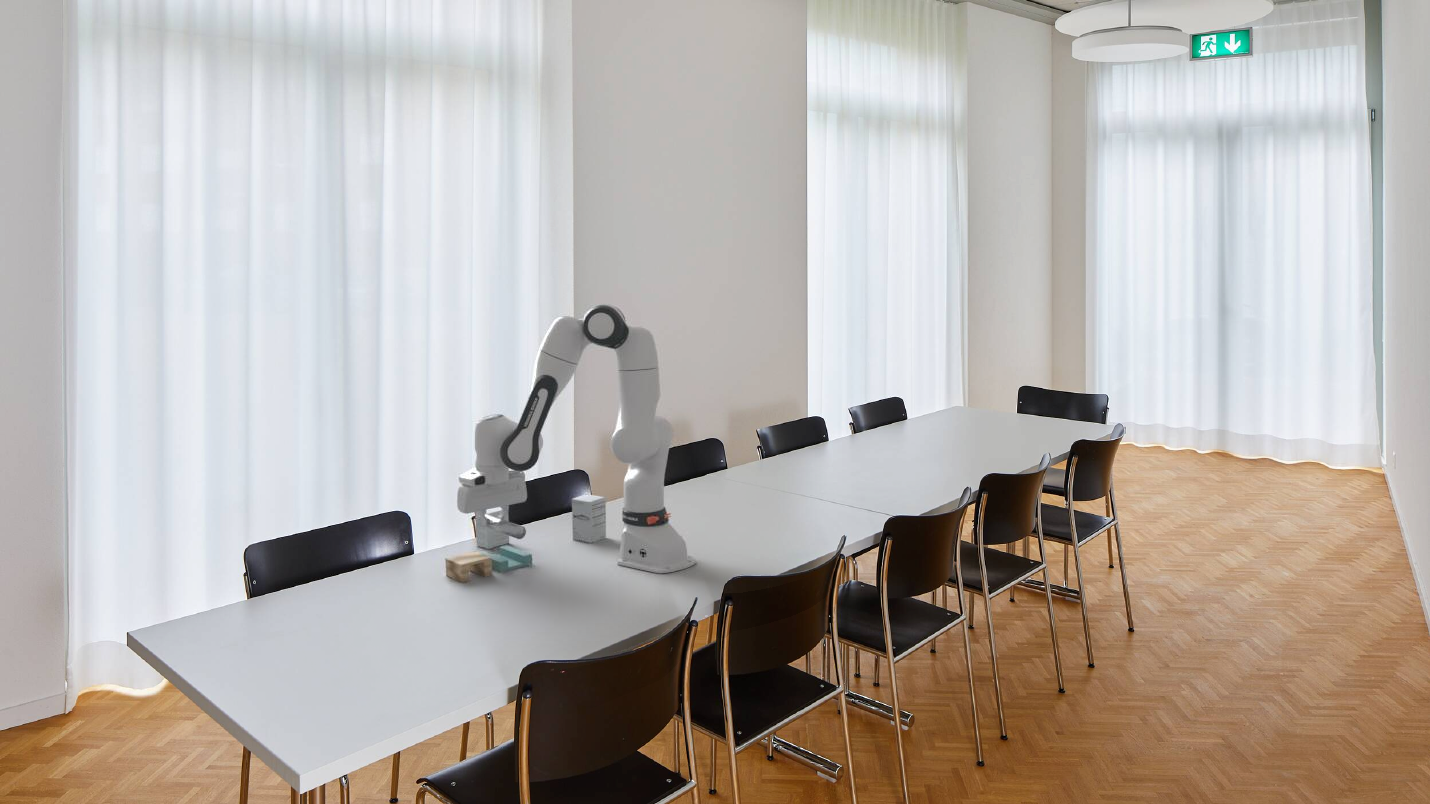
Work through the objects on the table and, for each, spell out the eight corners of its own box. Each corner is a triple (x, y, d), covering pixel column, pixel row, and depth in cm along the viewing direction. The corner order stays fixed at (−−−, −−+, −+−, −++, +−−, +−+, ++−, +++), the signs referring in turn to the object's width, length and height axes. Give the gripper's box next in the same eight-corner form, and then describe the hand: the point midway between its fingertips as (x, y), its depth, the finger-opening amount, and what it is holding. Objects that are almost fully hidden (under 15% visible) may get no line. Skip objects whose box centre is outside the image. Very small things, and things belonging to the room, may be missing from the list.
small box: (498, 539, 286) (496, 505, 285) (510, 543, 283) (508, 508, 281) (475, 545, 280) (474, 510, 278) (487, 549, 276) (486, 513, 275)
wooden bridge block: (492, 574, 254) (491, 557, 253) (462, 582, 247) (461, 565, 247) (475, 568, 259) (475, 551, 259) (446, 575, 253) (445, 558, 252)
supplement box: (571, 540, 285) (570, 498, 283) (587, 534, 291) (586, 493, 290) (591, 543, 281) (590, 501, 279) (607, 537, 288) (606, 496, 286)
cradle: (532, 564, 262) (531, 554, 262) (500, 572, 255) (500, 562, 255) (507, 554, 271) (507, 545, 270) (476, 562, 264) (475, 552, 263)
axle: (526, 537, 257) (525, 525, 257) (515, 540, 255) (514, 527, 254) (489, 524, 270) (488, 512, 269) (478, 526, 267) (477, 514, 267)
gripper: (518, 466, 272) (519, 514, 274) (453, 477, 258) (455, 528, 260) (530, 470, 268) (532, 518, 270) (465, 481, 253) (467, 532, 255)
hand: (493, 523), depth 264 cm, fingers closed on axle, 3 cm apart
